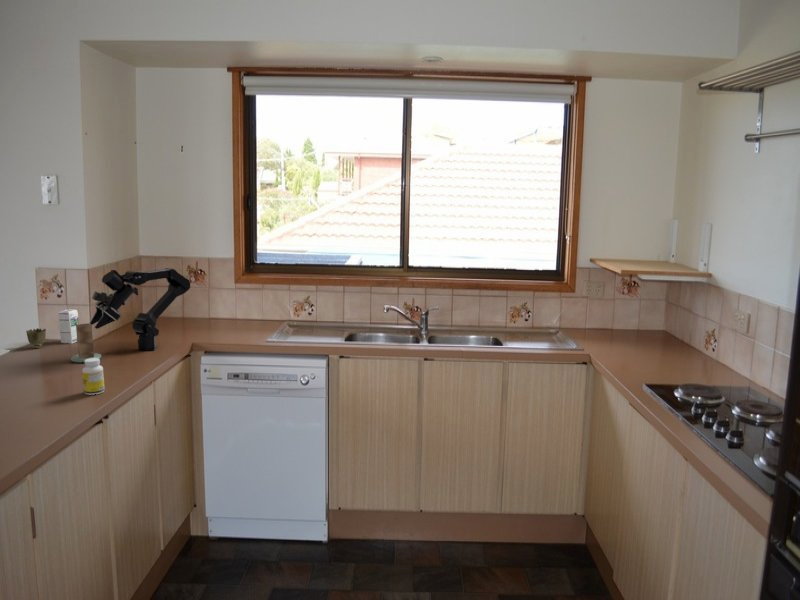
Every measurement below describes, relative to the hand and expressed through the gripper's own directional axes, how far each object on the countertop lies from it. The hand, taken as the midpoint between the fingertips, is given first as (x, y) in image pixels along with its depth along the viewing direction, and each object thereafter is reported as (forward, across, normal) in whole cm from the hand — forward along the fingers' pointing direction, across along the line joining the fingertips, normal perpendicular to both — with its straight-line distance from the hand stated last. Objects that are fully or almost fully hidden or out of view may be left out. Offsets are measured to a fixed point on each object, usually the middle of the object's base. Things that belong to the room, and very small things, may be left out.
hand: (93, 326), depth 269 cm
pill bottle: (+17, +47, +3) cm, 50 cm away
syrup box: (+12, -37, +8) cm, 39 cm away
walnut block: (+11, 0, +6) cm, 13 cm away
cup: (+22, -33, -2) cm, 39 cm away
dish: (+12, 0, +7) cm, 14 cm away
